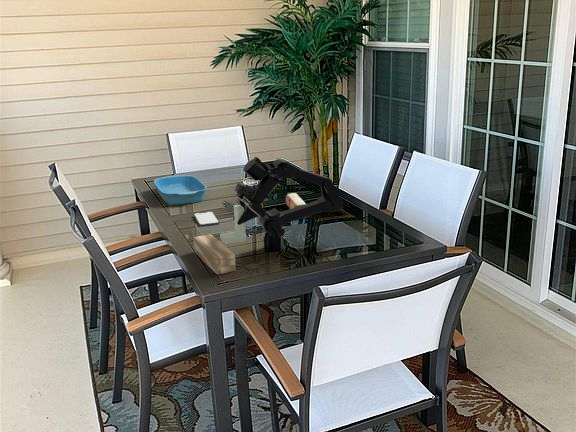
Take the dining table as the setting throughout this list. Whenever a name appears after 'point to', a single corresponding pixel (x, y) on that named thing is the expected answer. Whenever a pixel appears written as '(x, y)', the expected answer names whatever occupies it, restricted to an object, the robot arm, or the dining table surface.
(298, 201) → the snack package
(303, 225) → the dining table surface
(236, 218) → the sage green flanged block
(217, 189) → the dining table surface
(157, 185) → the casserole dish
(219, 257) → the beige u-shaped channel
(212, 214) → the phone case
